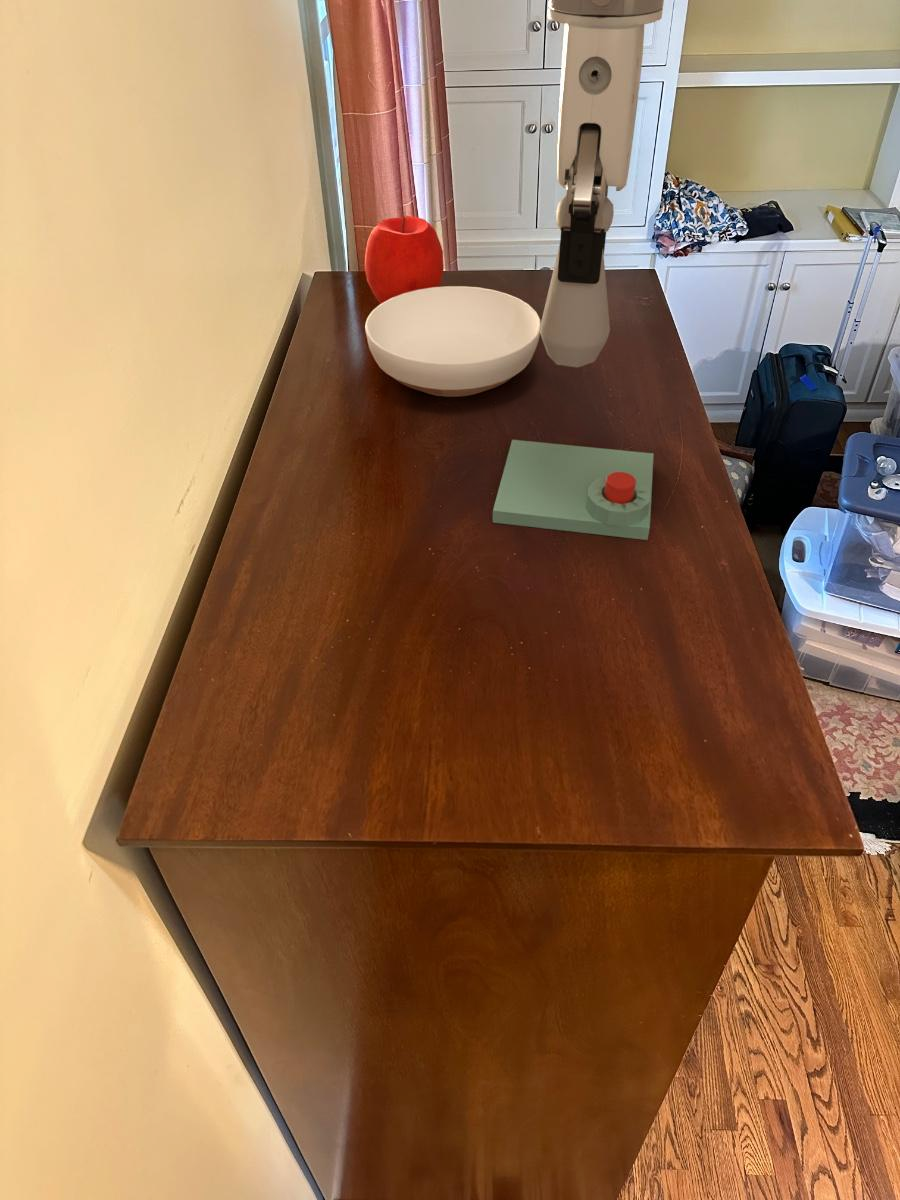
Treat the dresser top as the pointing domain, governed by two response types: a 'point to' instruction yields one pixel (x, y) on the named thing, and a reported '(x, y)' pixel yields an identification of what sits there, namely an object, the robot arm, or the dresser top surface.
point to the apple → (403, 257)
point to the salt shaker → (576, 309)
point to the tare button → (620, 487)
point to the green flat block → (573, 489)
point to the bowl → (453, 339)
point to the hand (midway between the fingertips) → (581, 266)
